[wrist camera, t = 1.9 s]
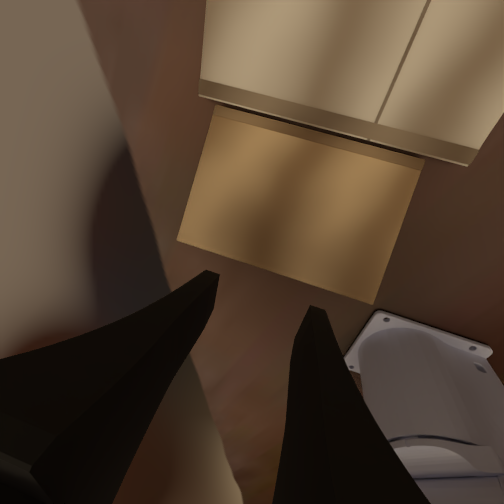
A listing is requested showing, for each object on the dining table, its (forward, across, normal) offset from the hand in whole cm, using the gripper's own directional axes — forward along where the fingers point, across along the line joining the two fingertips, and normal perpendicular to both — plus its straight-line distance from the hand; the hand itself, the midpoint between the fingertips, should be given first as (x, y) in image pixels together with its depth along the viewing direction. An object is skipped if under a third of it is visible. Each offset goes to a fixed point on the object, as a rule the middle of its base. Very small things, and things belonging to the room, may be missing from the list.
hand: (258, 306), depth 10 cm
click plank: (+8, 0, -2) cm, 8 cm away
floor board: (+10, 0, -10) cm, 15 cm away
